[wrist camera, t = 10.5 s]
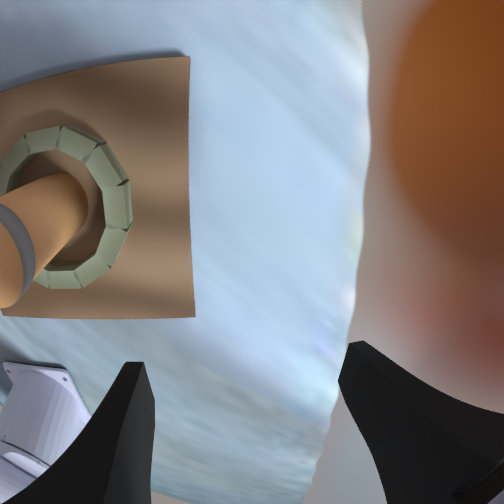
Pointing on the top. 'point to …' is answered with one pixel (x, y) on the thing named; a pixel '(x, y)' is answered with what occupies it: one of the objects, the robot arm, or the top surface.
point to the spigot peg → (36, 229)
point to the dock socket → (109, 187)
